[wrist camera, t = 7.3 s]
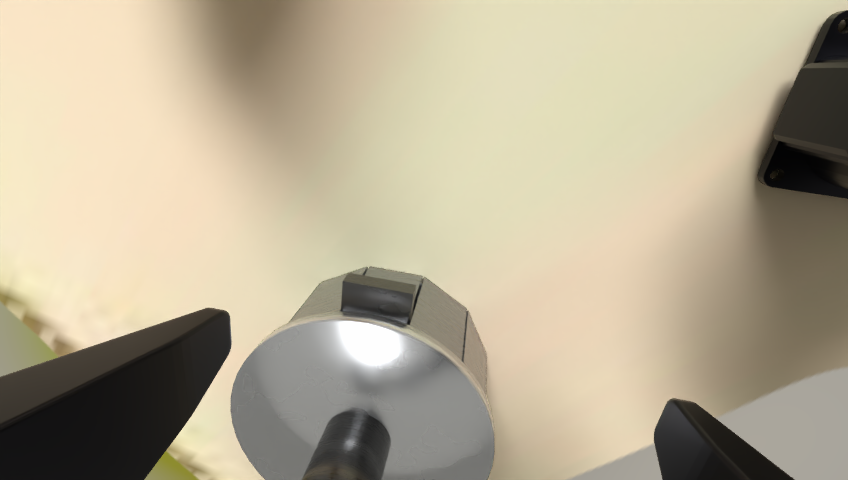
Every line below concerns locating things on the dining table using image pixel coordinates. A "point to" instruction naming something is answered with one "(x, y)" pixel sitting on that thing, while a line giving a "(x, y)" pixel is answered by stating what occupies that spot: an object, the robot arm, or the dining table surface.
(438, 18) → the dining table surface
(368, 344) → the lid
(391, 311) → the grey low hollow cylinder
